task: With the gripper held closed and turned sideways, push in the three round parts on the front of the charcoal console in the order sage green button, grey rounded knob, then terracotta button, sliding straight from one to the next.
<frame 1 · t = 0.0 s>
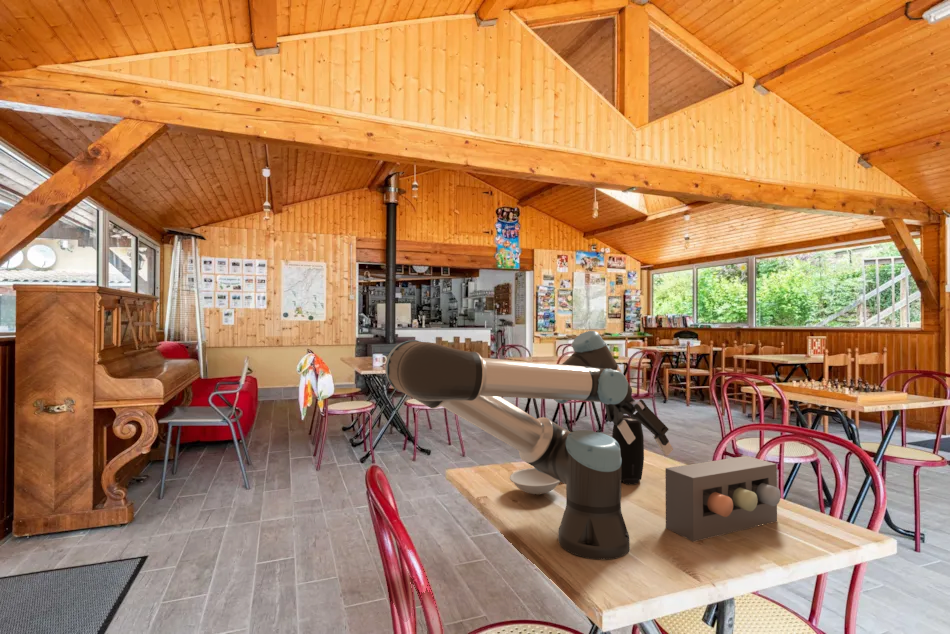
hand: (649, 446, 129), 15 cm above the table, tool tilted 35°, fingers open, 13 cm apart
portable speaker: (627, 481, 149), on the table
grey rounded knob: (762, 492, 115), point 8 cm above the table, slide at 0.0 cm
console: (722, 524, 116), on the table
smart speaker: (561, 478, 152), on the table
dish: (536, 494, 137), on the table
terracotta button: (714, 502, 109), point 8 cm above the table, slide at 0.0 cm
sage button: (739, 497, 112), point 8 cm above the table, slide at 0.0 cm
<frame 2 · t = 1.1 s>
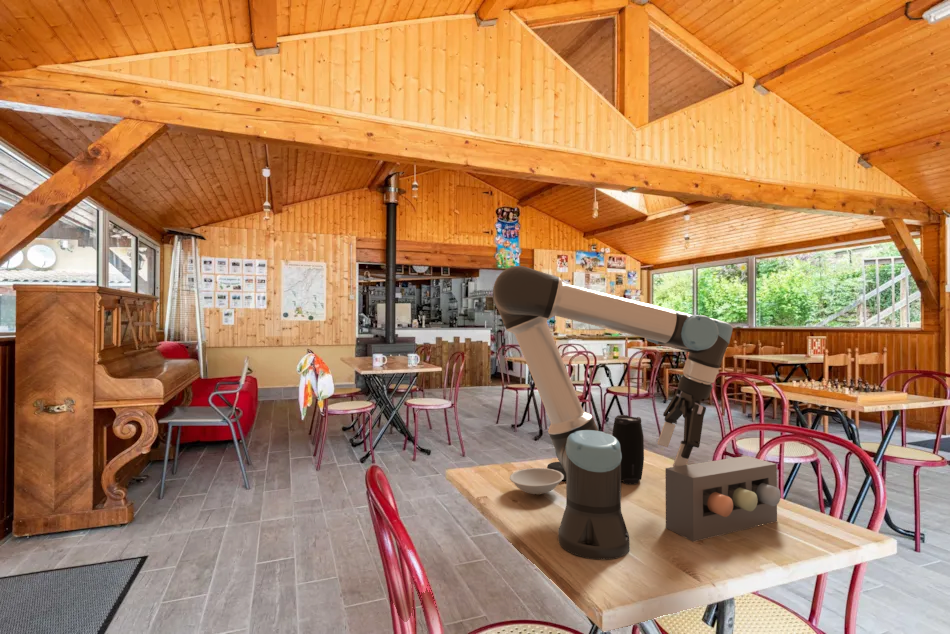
hand: (670, 456, 124), 14 cm above the table, tool tilted 20°, fingers open, 12 cm apart
nothing on the table moved.
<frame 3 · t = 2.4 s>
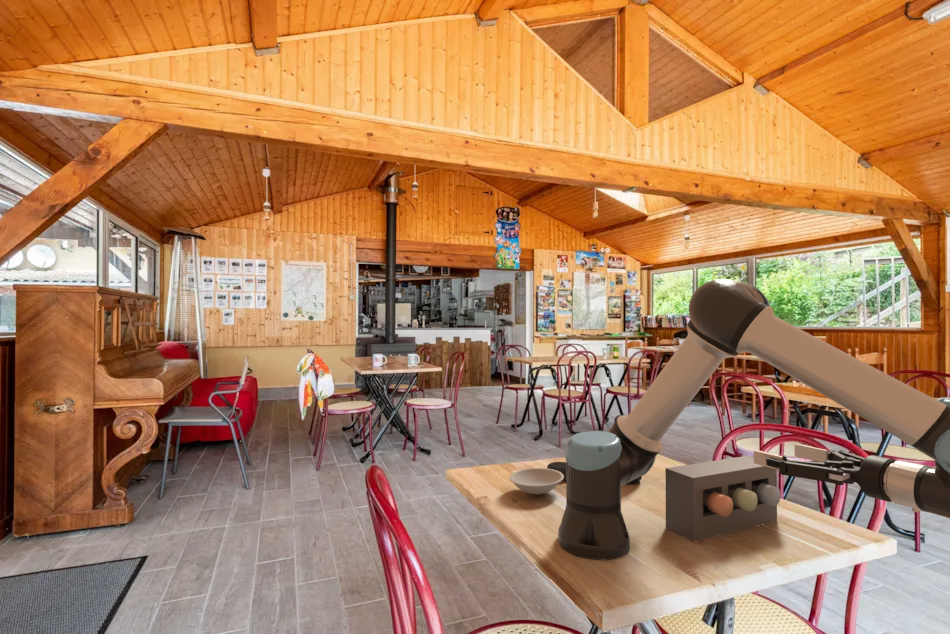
hand: (775, 453, 104), 20 cm above the table, tool horizontal, fingers open, 13 cm apart
nothing on the table moved.
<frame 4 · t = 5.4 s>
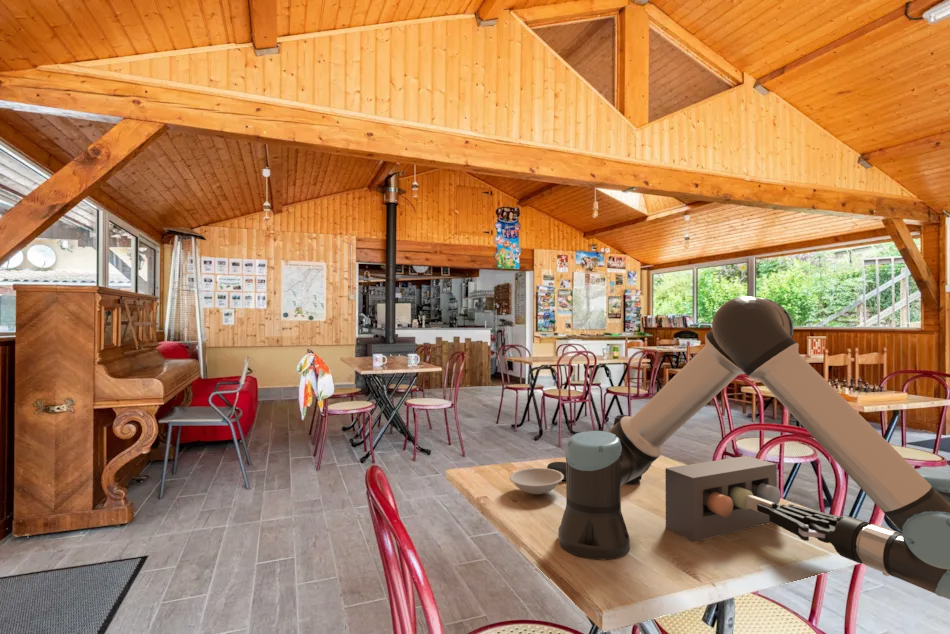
hand: (748, 501, 110), 8 cm above the table, tool horizontal, fingers closed
sage button: (735, 495, 113), point 8 cm above the table, slide at 1.0 cm, touching gripper
everything else where it was.
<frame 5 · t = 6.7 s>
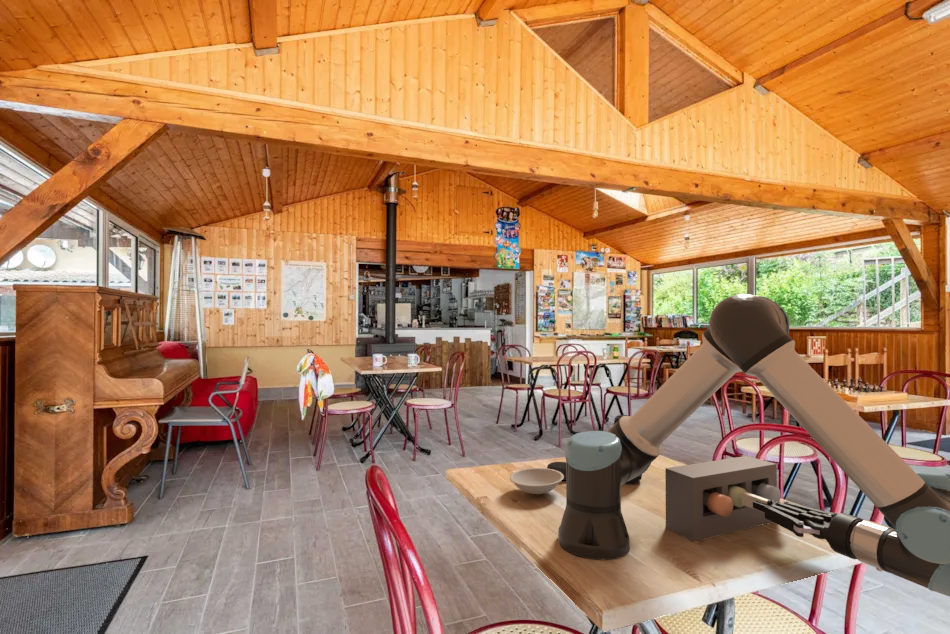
hand: (744, 498, 111), 8 cm above the table, tool horizontal, fingers closed
sage button: (729, 493, 114), point 8 cm above the table, slide at 2.6 cm
everything else where it was.
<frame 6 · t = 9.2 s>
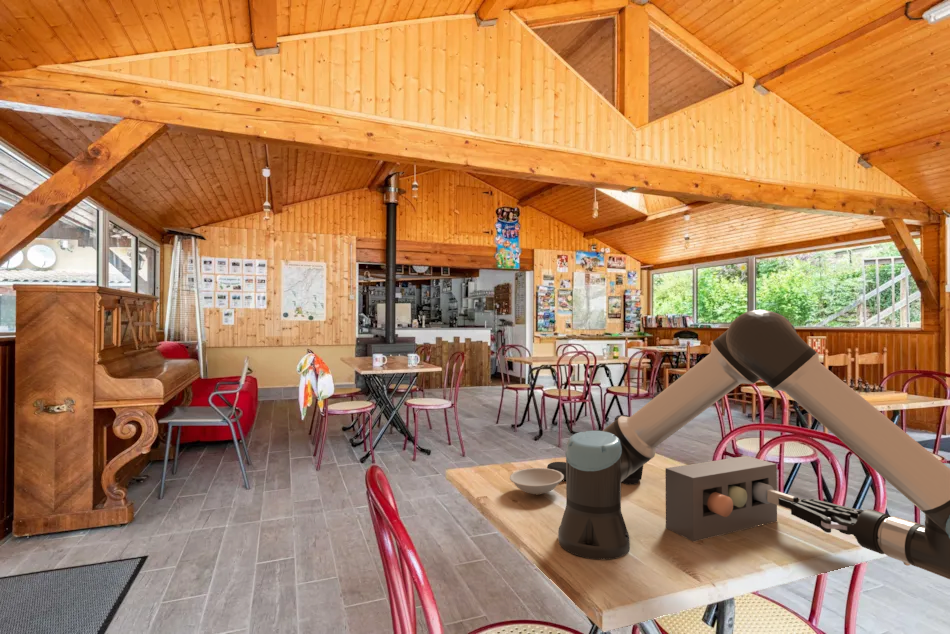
hand: (769, 495, 114), 8 cm above the table, tool horizontal, fingers closed
grey rounded knob: (756, 490, 116), point 8 cm above the table, slide at 1.5 cm, touching gripper
everything else where it was.
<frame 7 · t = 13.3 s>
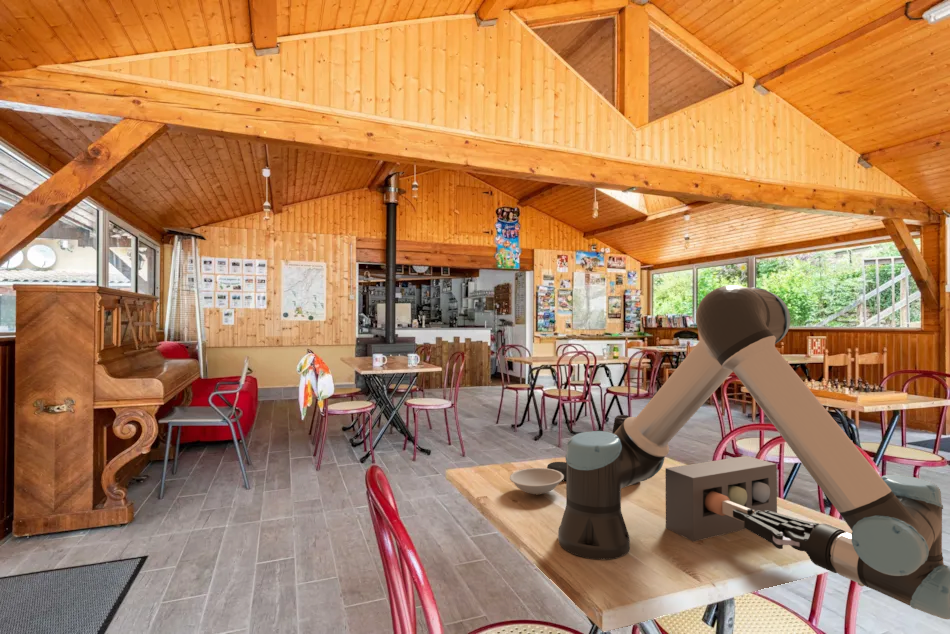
hand: (724, 506, 106), 8 cm above the table, tool horizontal, fingers closed
grey rounded knob: (752, 489, 117), point 8 cm above the table, slide at 2.6 cm
terracotta button: (711, 501, 109), point 8 cm above the table, slide at 0.7 cm, touching gripper
everything else where it was.
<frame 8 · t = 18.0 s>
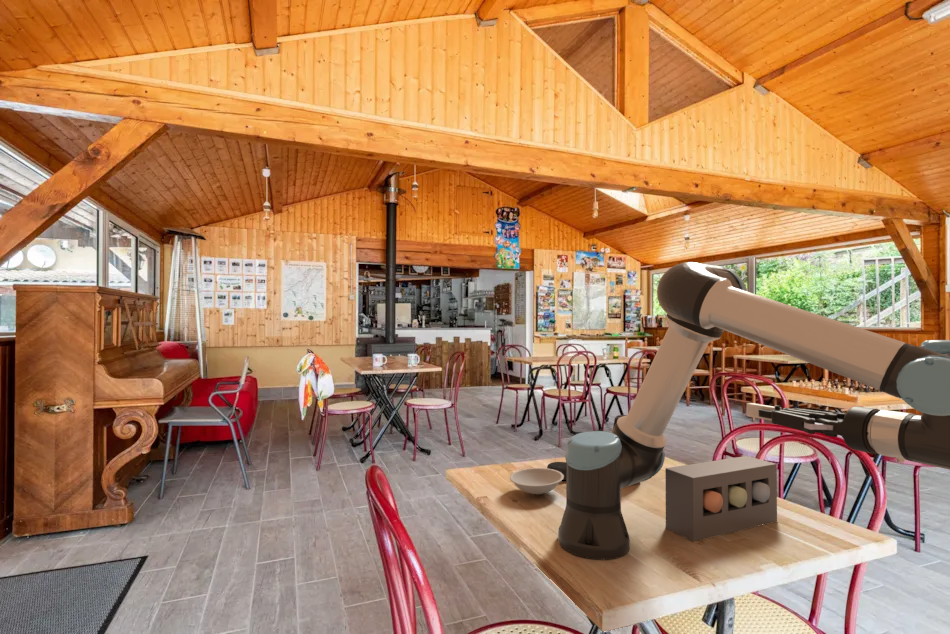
hand: (749, 409, 102), 30 cm above the table, tool horizontal, fingers closed
terracotta button: (704, 498, 111), point 8 cm above the table, slide at 2.6 cm
everything else where it was.
at the end: sage button slide at 2.6 cm; grey rounded knob slide at 2.6 cm; terracotta button slide at 2.6 cm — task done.
